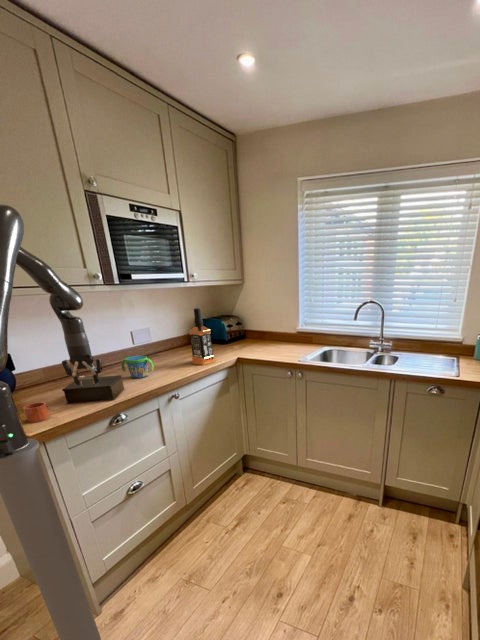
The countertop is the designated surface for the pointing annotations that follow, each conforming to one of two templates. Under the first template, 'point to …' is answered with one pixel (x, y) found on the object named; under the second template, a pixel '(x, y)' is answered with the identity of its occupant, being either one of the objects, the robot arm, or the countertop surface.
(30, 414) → the orange clay pot
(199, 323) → the whiskey bottle
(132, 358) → the snack cup
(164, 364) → the countertop surface
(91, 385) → the lid
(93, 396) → the black box base
